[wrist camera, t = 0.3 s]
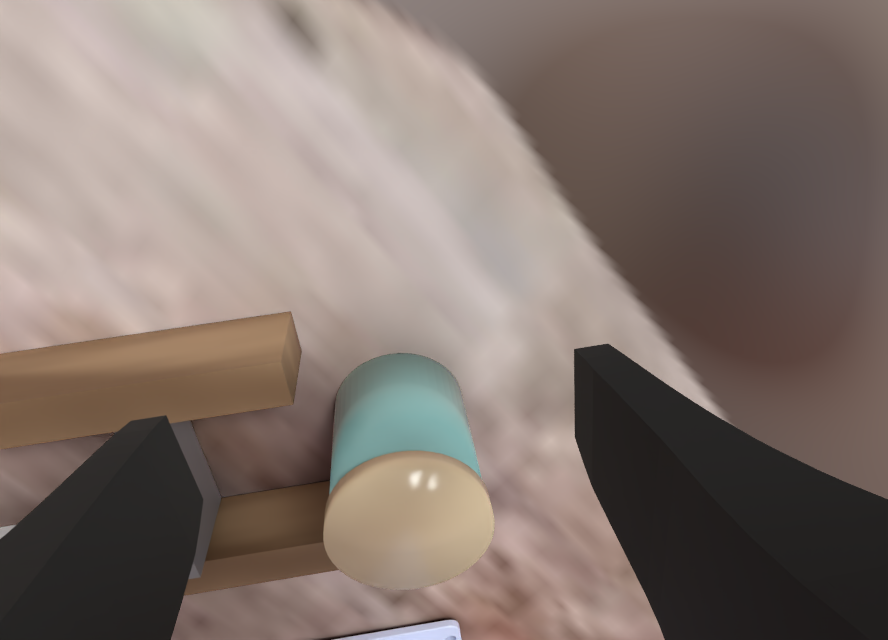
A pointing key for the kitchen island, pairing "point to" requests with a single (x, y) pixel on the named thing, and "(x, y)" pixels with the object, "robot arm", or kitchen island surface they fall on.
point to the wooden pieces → (181, 399)
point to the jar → (404, 477)
